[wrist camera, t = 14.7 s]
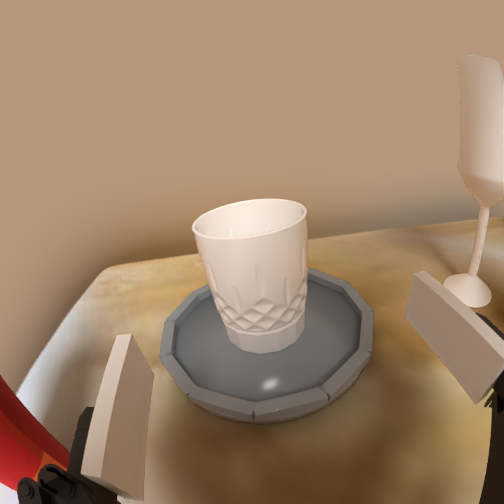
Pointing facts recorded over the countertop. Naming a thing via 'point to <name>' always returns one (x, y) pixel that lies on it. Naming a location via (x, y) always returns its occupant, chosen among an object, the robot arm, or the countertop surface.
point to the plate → (270, 356)
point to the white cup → (257, 270)
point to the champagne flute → (479, 160)
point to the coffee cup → (24, 442)
